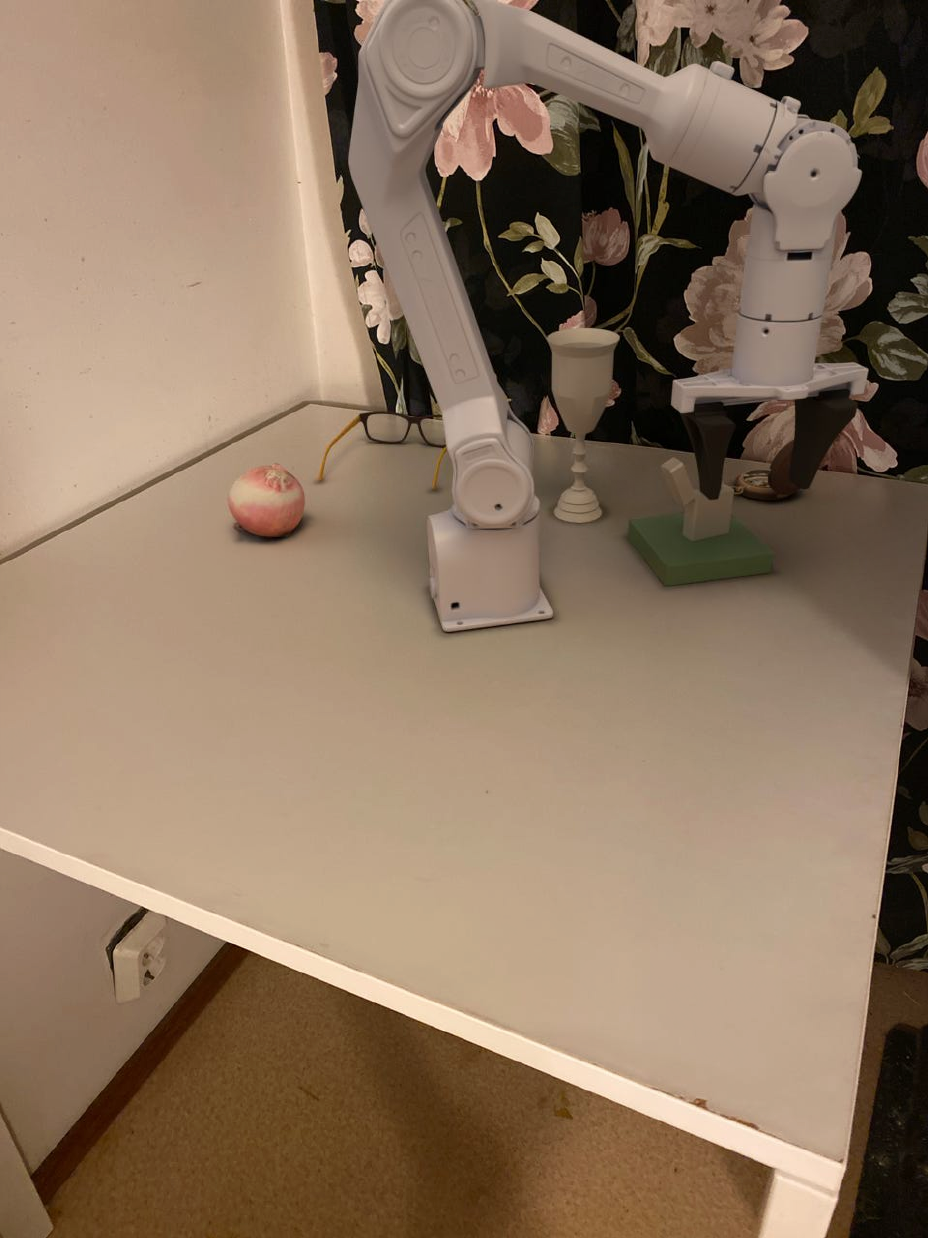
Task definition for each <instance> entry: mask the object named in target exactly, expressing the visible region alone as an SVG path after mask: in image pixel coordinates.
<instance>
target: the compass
mask: <svg viewBox="0 0 928 1238" xmlns="http://www.w3.org/2000/svg"><path fill="white" fill-rule="evenodd" d="M793 443H794V439H792V440H790V441H789V442H788V443H786V444H784V445H783V446H782V447H781V448H780V449H779V451H778V452H777V453H776V454H775V456H774V457H773V459H772V461H771V463H770V465H769V469H765V468H764V469H763V468H761V469H760V468H759V469H750V470H747V471H745V472H743V473H742V474H740V475H738V476H737V477H735V479H734V483H733V486H730V487H731V488H732V489H734V490H735V491H736V492H734V494H733V495H742V496H744V497H746V498H750V499H753V500H759V501H777V500H782V499H786V498H788V497H790V496H791V495H793V494H795V493H797V492H799V491H800V490H801V489H800V488H799V487H798V486H796V485H795V484H794V483H793V482H791V481H790V480H789V468H790V461H791V455H792V449H793Z"/></svg>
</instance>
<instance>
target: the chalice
mask: <svg viewBox="0 0 928 1238" xmlns="http://www.w3.org/2000/svg"><path fill="white" fill-rule="evenodd" d="M620 337H621V336H620V335H619V334H618V333H617V332H615V331H611V330H607V329H602V328H594V327H578V328H567V329H562V330H561V329H560V330H558V331H554V332H552V333H550V334H549V335H547V338H546V340H547V342H548V344H549V347H550V349H551V392H552V395H553V398H554V401H555V405H556V408H557V410H558V412H559V415H560V417H561V419H562V421H563V423H564V426H565V428H566V430H567V431H568V432H571V433H572V434H574V436H575V443H574V447H573V449H571V453H572V454H573V456H574V459H575V460H574V464H573V465H572V466H571V467H570V471H572V472H573V476H574V481H573V484H572V485H571V486H570V487H568V488H566V489H565V490H564V491H563V492H562V493H561V495H560V498H559V500H558V501H557V505H556V507H555V508H554V510H553V515H554V516H555V517H556V518H558V519H559V520H561V521H563V522H569V523H576V524H579V523H581V524H582V523H589V522H594V521H596V520H598V519H599V518H601V516H602V515H603V510H602V508H601V507H600V506H599V505H600V502H599V501H598V499H597V495H596V494H595V492H594V491H593V490H592V489H591V488H589V487H587V486H586V485H585V482H584V477H585V473H586V472H587V471H588V470H589V468H588V467H587V466H586V464H585V457H586V455H587V454H588V452H589V451H588V449H587V448H586V442H585V439H586V436H587V434H589V433H591V432H593V431H594V430H595V429H596V427H597V425H598V422H599V421H600V419H601V417H602V415H603V413H604V411H605V410H606V407H607V404H608V401H609V399H610V396H611V393H612V390H613V389H612V388H613V371H614V353H615V352H614V351H615V349H616V347H617V345H618V343H619V342H620Z"/></svg>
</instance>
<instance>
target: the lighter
mask: <svg viewBox="0 0 928 1238" xmlns="http://www.w3.org/2000/svg"><path fill="white" fill-rule="evenodd" d="M660 468H661V472H662V473H663V476H664V479H665V481H666V483H667V487H668V488H669V491H670V493H671V496H672V498H673V500H674V501H675V502H677V503H678V504H680V505H681V506H683V507H684V513H685V514H684V524H683V534H682V535H684V536H685V537H687V538H688V539H689V540H691V541H696V540H700V539H704V538H709V537H713V536H717V535H721V534H726V533H728V532H729V525H730V517H731V514H732V510H733V509H732V508H733V501H734V495H735V494H734V493H735V488H731V487H732V486H729V485H727V484H725V481H724V480H723V479H722V485H721V491H720V495H719V498H718V500H709V499H708V498H707V497H705V496H704V495H703V494H702V493H701V492H700V486H699V485H698V488H696V489H694V488H693V485H692V483H691V479H690V477H689V475H688V471H687V470H686V466H685V464H684V463H683V462H682V461H680V460H679V459H678V458H676V457H674V456H673V457H671V458H670V459H668V460H667V461H665V462H664V463H663V464H661V465H660Z"/></svg>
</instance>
